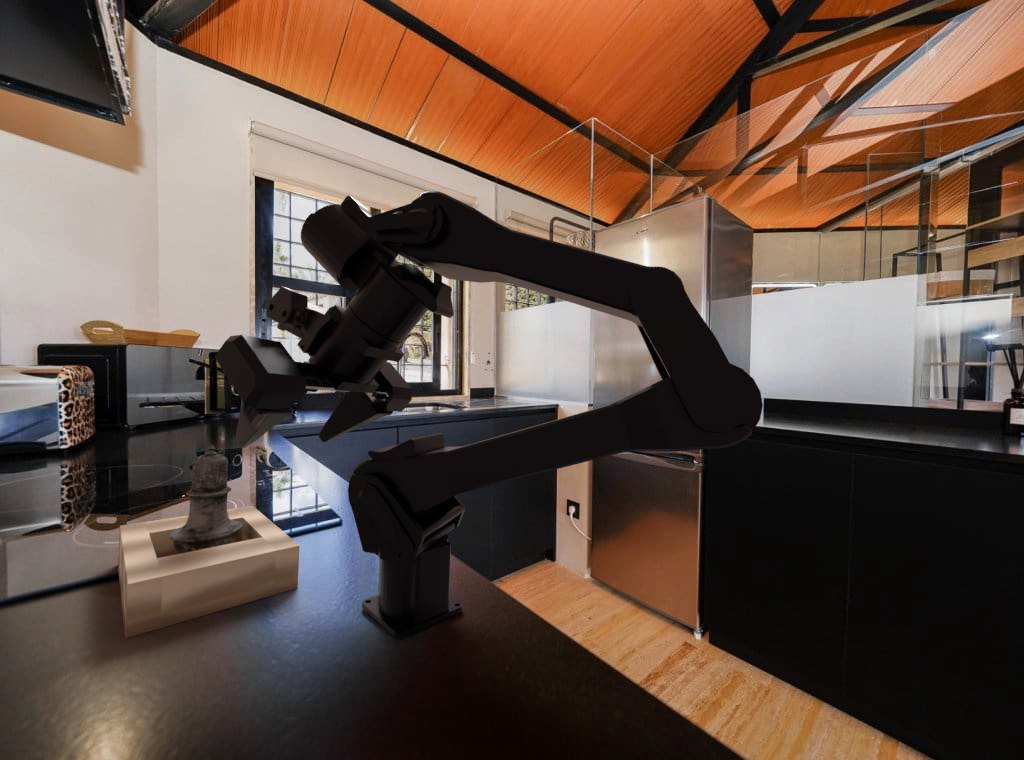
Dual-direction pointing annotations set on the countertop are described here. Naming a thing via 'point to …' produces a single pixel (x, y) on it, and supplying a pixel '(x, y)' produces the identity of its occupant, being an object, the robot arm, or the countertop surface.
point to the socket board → (200, 571)
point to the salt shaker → (207, 507)
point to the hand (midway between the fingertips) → (284, 441)
